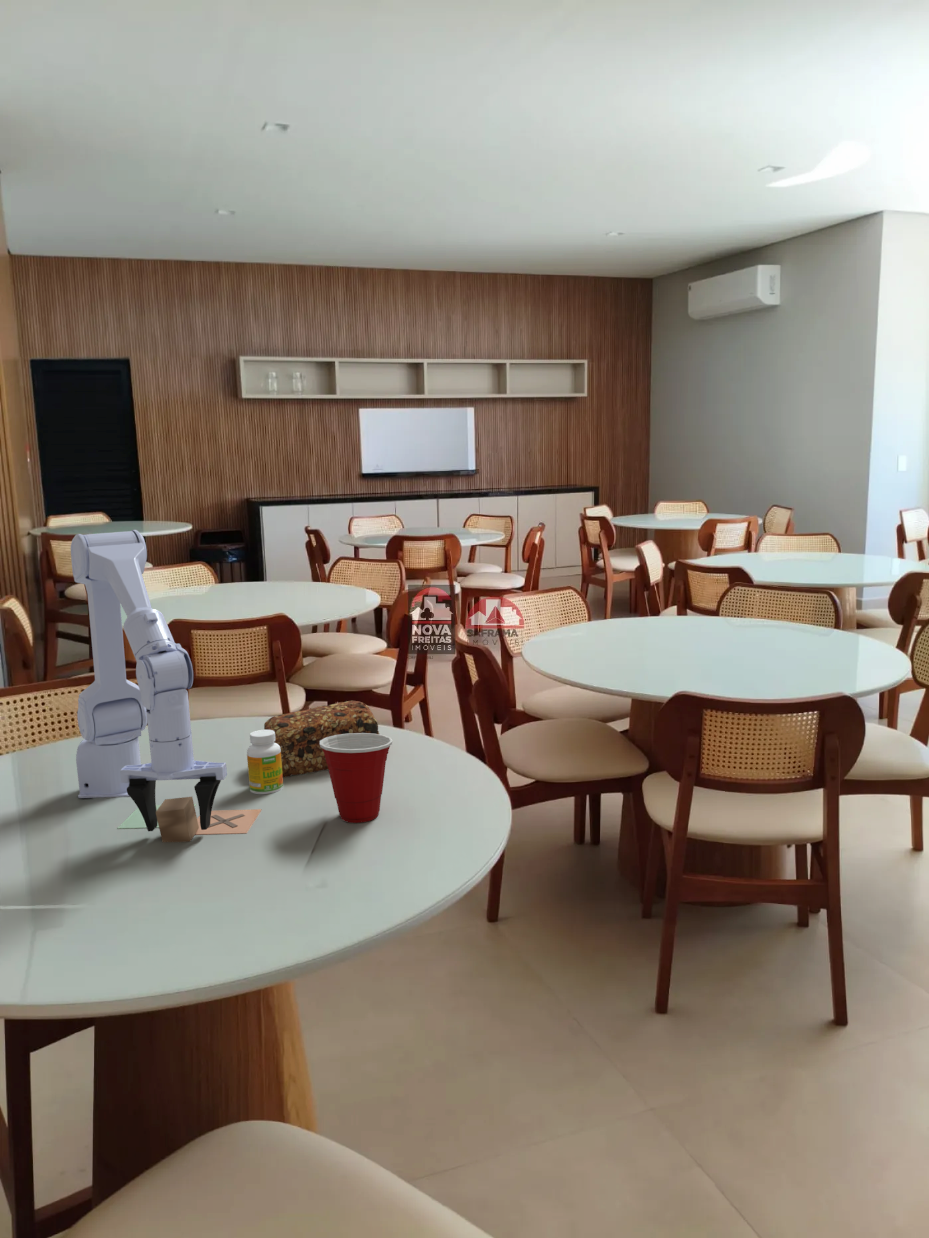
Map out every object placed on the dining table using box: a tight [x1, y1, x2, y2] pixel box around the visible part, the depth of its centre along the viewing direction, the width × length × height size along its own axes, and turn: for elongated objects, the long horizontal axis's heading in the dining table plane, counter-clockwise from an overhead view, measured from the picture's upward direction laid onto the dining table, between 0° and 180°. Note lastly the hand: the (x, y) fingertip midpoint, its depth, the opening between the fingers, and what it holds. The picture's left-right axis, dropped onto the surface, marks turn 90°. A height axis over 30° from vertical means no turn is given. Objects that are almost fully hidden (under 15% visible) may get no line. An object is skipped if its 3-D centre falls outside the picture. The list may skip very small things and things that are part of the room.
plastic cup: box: [320, 733, 393, 824], centre depth 136 cm, size 11×11×12 cm
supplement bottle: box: [246, 729, 284, 795], centre depth 148 cm, size 5×5×10 cm
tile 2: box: [194, 808, 263, 836], centre depth 136 cm, size 9×9×1 cm
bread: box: [263, 700, 380, 778], centre depth 162 cm, size 19×11×10 cm, turn 114°
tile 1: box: [116, 803, 198, 830], centre depth 139 cm, size 9×9×1 cm
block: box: [156, 796, 199, 843], centre depth 130 cm, size 4×4×5 cm
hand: (179, 827), depth 130 cm, fingers open, 7 cm apart
